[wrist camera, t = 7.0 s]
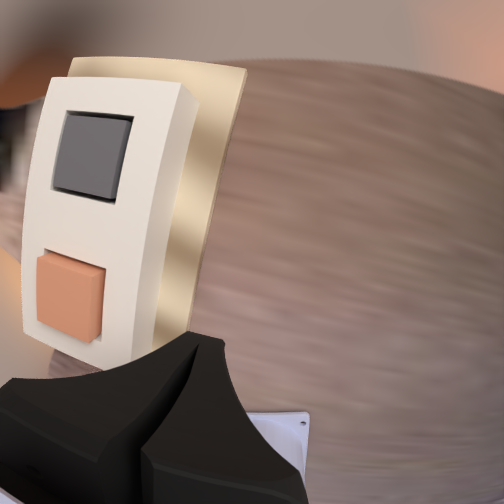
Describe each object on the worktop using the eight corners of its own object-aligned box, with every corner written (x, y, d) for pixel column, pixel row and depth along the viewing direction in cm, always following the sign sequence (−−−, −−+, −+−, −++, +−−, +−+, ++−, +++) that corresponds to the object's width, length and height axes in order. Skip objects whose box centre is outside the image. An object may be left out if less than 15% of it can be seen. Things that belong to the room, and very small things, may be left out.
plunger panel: (151, 350, 21) (129, 380, 17) (54, 313, 21) (23, 332, 17) (199, 102, 18) (181, 82, 14) (85, 91, 18) (51, 77, 14)
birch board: (179, 381, 22) (176, 388, 21) (42, 328, 23) (36, 332, 22) (247, 74, 18) (246, 68, 17) (80, 61, 18) (73, 57, 17)
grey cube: (140, 195, 19) (109, 198, 15) (88, 184, 19) (52, 185, 15) (154, 132, 18) (126, 120, 14) (101, 125, 18) (67, 115, 14)
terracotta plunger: (118, 317, 20) (89, 343, 16) (70, 299, 20) (37, 320, 16) (124, 260, 19) (91, 277, 15) (74, 244, 19) (36, 257, 15)
